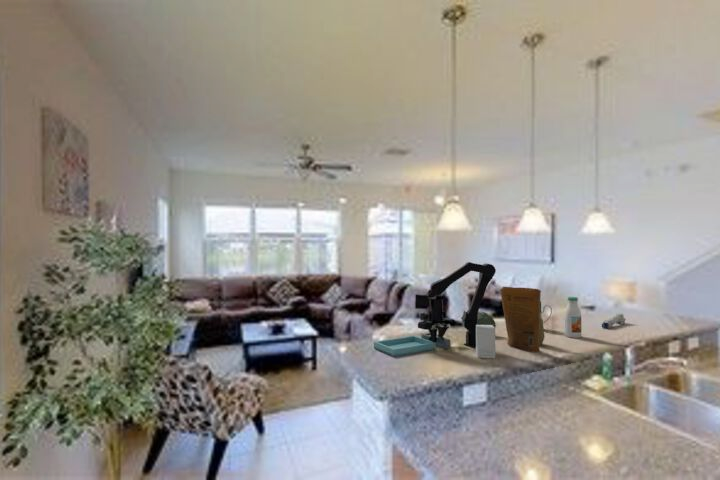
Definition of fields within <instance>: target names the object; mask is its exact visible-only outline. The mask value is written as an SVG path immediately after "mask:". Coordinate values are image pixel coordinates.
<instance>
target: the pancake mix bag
mask: <svg viewBox="0 0 720 480" xmlns="http://www.w3.org/2000/svg"><path fill="white" fill-rule="evenodd" d="M499 290H500V291H499V293H500V297H501V303H502V310H503V315H504V322H505V328H506V333H507V334H506V335H507V338H508V339H507V343H506V344H507V346H508V345H509V346H508V347H510V348H514V349H519V350H524V351H527V352H532V353H535V352H537V353H539V352H541V349H540V345H539V339H538V337H539V322H540V301H541V296H542V295H541V294H542V293H541V292H542V290H540V289H538V288H531V287H512V286H502V288H500V289H499Z"/></svg>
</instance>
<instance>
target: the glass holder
mask: <svg viewBox="0 0 720 480" xmlns="http://www.w3.org/2000/svg"><path fill="white" fill-rule="evenodd" d="M546 307H549V308H550V315H549V316H548V318H547V319H546V320H545V321H543V324H545V323H546V322H547V321H549V320H550V318H551V316H552V314H553V308H552V306H551V305H548V304H547V305H544V306H543V309H542V301H541V300H540V314H541V317H540V318H541V319H542V318H543V317H542V314H543V313H544V312H545V308H546ZM542 310H543V311H542ZM542 320H543V319H542Z"/></svg>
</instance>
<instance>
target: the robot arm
mask: <svg viewBox="0 0 720 480" xmlns="http://www.w3.org/2000/svg"><path fill="white" fill-rule="evenodd" d="M496 271H497V269H496V267H495V266H494V264H491V263H486V262H485V263H483V264H480V263H479V264H478V263H474V262H471V261H467V262H466V263H465V264H463V265H462V266H461V267H459V268H457V269H456V270H455V271H453V272H452V273H450V274H449V275H447V276H445V277H444V278H441V279H439V280H436V281H433V282H431V284H430V287H429V288H430V289H429V290H427V292H426V294H417V293H415V296H414V297H415V298H414V309H415V310H427V309H428V308H429V307H430V310H428V313H427V314H426V312H421V313H419V318H420V321H418V323H417V328H418V329H421V330H424V331H428V333H430V335H431V337H432V340H433V342H436V336H437V334H438V336H440V337H444V335H445V334H446V332H447V330H448V329H449V328H450V327H455V326H456V324H457V323H456V320H455V319H454V318H449V317H447V318H446V317H445V318H444V314H445V313H446V311H444V301H447V300H448V298H447V297H446V296H445V294H443V293H444V292H445V291H447V289H448V288H449V287H450V286H452V284H454V283H455V282H457V281H458V280H459V279H461V278H463V277H464V276H466V275H467V274H468V273H470V272H474V273H475V272H476V273H478V283H477V284H476V285H477V286H476V289H475V291H474V294H473V297H472V300H471V303H470V305H469V308H468V310H467V311H465V310H463V313H462V317H461V318H460V319H461V325H462V326H463V327H464V328H465V329H466V332H465V343H463V345H464V346H467V347H470V348H476V325H477V320H478V313H479V310H480V308H481V304H482V301H483V299H484V296H485V294H486V290H487V288H488V285H489V283H491V280H492V279H493V277H494V276H495V275H496ZM448 325H449V326H450V327H449V326H448Z"/></svg>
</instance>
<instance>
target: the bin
mask: <svg viewBox="0 0 720 480" xmlns="http://www.w3.org/2000/svg"><path fill="white" fill-rule="evenodd" d="M436 347H437V346H436V343H435V342H432V341H429V340H426V339H423V338H421V336H420V337H419V336H416V335H409V336H403V337H397V338H390V339H384V340H377V341H373V349H374V348H375V350H376V351H379V352H382V353H385V354H387V355H389V356H391V357H393V356H395V357H400V356H404V355H405V354H406V355H410V354H411V355H412V354H418V353H424V352H428V351H434V350H437V349H436ZM406 355H405V356H406Z"/></svg>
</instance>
